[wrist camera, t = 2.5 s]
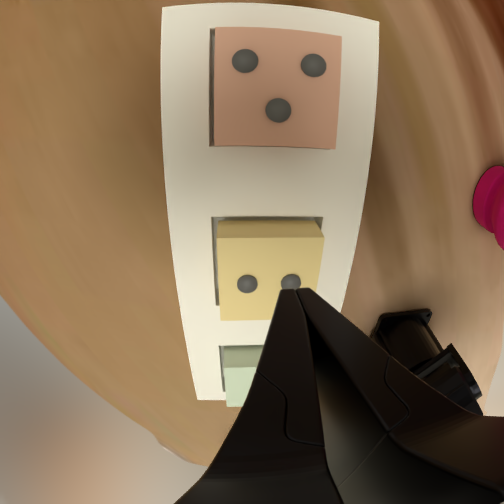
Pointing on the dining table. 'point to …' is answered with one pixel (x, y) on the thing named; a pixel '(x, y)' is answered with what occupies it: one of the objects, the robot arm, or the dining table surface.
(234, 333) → the rail
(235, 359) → the tile
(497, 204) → the pepper mill
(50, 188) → the dining table surface
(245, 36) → the three-pip tile
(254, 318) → the tile
